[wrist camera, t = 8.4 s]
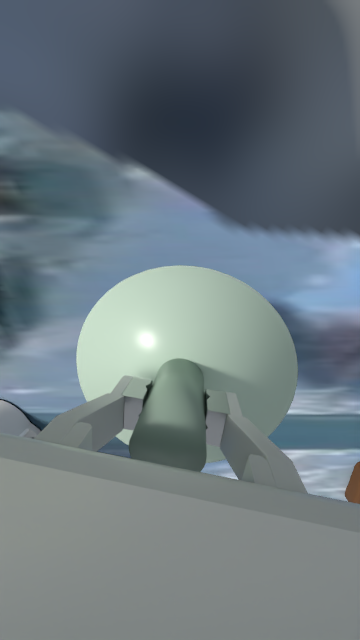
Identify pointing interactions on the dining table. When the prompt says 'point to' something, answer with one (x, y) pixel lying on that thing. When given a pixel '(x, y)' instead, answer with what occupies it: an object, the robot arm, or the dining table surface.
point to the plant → (354, 486)
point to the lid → (187, 357)
